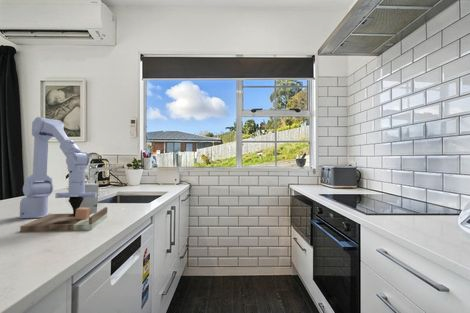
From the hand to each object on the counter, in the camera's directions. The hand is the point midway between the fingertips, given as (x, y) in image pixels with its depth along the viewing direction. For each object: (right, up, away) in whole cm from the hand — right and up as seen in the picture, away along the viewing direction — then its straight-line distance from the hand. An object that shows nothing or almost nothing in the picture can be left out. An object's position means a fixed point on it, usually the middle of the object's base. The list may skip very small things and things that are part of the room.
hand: (75, 215), depth 106 cm
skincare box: (-4, -4, +16) cm, 16 cm away
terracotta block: (+2, -1, 0) cm, 3 cm away
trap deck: (-2, -3, 0) cm, 4 cm away
